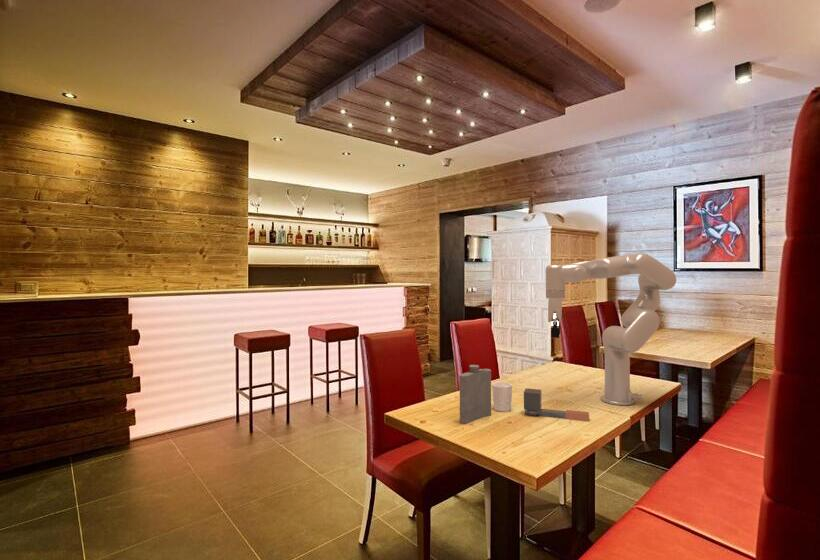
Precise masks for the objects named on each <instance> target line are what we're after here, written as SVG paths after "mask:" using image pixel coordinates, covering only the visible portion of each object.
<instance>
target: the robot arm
mask: <svg viewBox="0 0 820 560" xmlns="http://www.w3.org/2000/svg"><path fill="white" fill-rule="evenodd" d="M628 275H629V276H630V275H638V278H637V282H638V287H639V292H638V293H639V294H638V295H637V297H636V298H635V300H634V301H633V302H632V303H631V304H630V306H629V307H627V309H626V310H625V311H624V312H623V314H622V315H621V318H620V322H621V324H622V325H623V326H619V325H610V326H608V327H607V328H605V329H604V331H603V332H602V336H601V337H602V338H601V339H602V346H603V351H604V394H602V395H601V396H600V400H601V401H602V402H603V403H604V402H605V403H607V404H610V405H614V406H615V405H616V406H617V405H618V406H631V405H633V404H634V403H635V399H636V400H643V399H644V396H643V394H639V393H633V392H632V391H631V385H630V384H631V371H630V370H631V368H630V367H631V358H630V354H631V353H636V352H638V351H639V350H640V349H642V348H643V347H644V345H645V344H647V342H648V341H649V340H650V339H651V338H652V336H653V335H654V334H655V333H656V331H657V330H658V329H659V327H660V316H659V314H658V313H657V312H655V311H656V310H657V309H658V307H659V306H660V304H661V295H660V291H666V290H670V289H673V288H674V287H675V285H676V283H677V276H676V274H675V273H674V272H673V270H672V269H670V268H669V267H667V266H666V265H665V264H663V263H662V262H661V261H659V260H658V259H656V258H655V257H653V256H652V255H650V254H647V253H628V254H623V255H615V256H610V257H609V256H608V257H602V258H598V259H593V260H592V259H591V260H587V261H582V262H574V263H567V264H563V265H562V264H548V265H547V266H546V267H545V299H548V300H547V301H548V303H547V322H548V323H551V327H550V337H551V338H552V339H553V338H554V339H559V338H560V335H561V324H560V323H561V322H562V313H563V302H562V301H563V299H566V283H580V282H583V281H584V280H588V279H589V280H590V279H594V280H596V279H597V280H598V279H599V280H602V279H611V278H615V277H623V276H628Z"/></svg>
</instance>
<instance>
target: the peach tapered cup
mask: <svg viewBox="0 0 820 560" xmlns="http://www.w3.org/2000/svg"><path fill="white" fill-rule="evenodd" d="M491 394H492V403H493V410H495V411H497V412H510V411H511V410H512V397H513V384H512V383H510V382H506V381H495V382H491Z"/></svg>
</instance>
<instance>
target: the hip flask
mask: <svg viewBox="0 0 820 560" xmlns="http://www.w3.org/2000/svg"><path fill="white" fill-rule="evenodd" d="M468 368H469V371H467V372H464V373H461V374H459V379H458V380H459V423H460V424H462V425H467V424H470V423H472V422H474V421H477V420H479V419H482V418H487V417H490V416H492V370H491V368H490V369H489V368H480V365H478V364H470V365H469V367H468Z"/></svg>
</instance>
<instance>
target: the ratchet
mask: <svg viewBox="0 0 820 560" xmlns="http://www.w3.org/2000/svg"><path fill="white" fill-rule="evenodd" d="M524 411H525V413H524V415H526V416H529V417H543V418H554V419H556V418H557V419H562V420H563V419H564V420H570V421H571V420H572V421H578V422H579V421H581V422H588V421H589V422H590V411H581V410H569V409H565V410H558V409H548V408H541V410H540V411H535V410H526V409H524Z"/></svg>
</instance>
